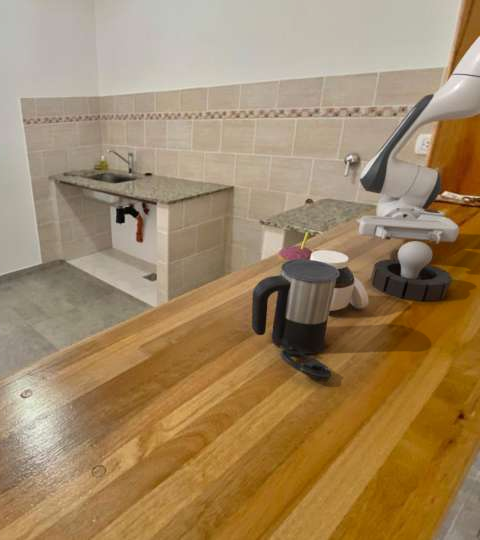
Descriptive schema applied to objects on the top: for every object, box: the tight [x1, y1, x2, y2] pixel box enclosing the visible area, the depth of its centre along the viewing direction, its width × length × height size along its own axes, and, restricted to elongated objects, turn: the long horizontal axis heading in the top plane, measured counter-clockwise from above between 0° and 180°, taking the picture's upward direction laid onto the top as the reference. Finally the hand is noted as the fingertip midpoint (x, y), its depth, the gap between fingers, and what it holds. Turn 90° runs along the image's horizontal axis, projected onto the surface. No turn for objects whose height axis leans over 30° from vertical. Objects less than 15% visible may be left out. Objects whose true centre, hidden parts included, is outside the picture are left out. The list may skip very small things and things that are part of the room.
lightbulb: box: [397, 240, 433, 279], centre depth 86 cm, size 6×6×11 cm
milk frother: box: [251, 259, 339, 381], centre depth 65 cm, size 14×16×15 cm
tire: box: [370, 258, 453, 303], centre depth 87 cm, size 14×14×4 cm
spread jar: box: [310, 249, 369, 315], centre depth 80 cm, size 12×11×12 cm
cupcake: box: [277, 229, 314, 265], centre depth 95 cm, size 9×8×12 cm
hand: (410, 238), depth 90 cm, fingers open, 8 cm apart
